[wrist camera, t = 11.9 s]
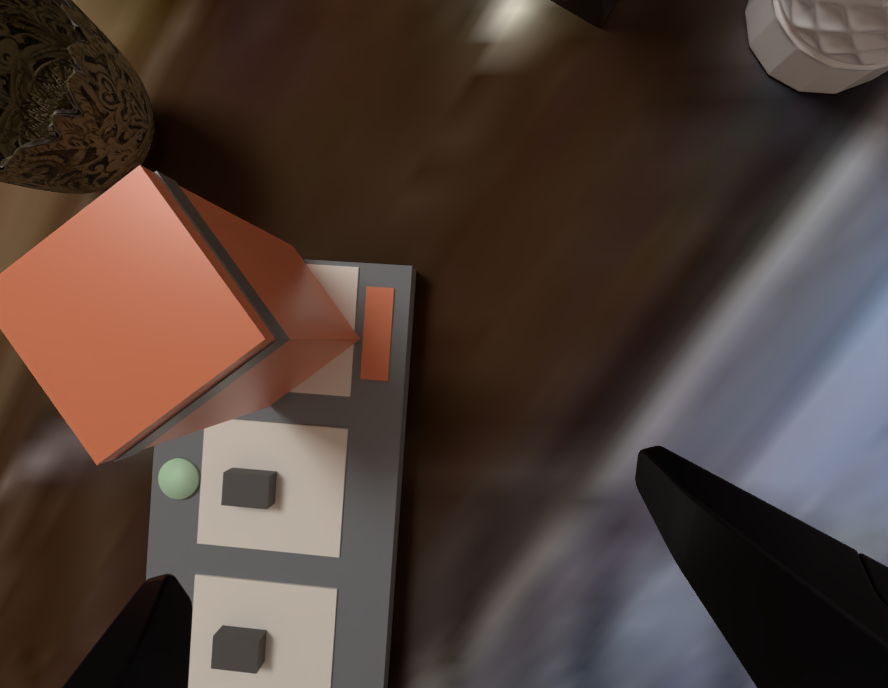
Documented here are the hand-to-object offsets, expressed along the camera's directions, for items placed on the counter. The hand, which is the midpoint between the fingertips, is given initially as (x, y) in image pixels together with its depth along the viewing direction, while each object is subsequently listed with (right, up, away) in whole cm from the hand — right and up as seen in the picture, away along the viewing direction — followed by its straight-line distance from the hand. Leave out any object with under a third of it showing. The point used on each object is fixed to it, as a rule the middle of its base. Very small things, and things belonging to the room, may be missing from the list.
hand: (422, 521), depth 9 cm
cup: (-14, +13, +14) cm, 24 cm away
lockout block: (-7, +4, +12) cm, 14 cm away
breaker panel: (-7, -3, +14) cm, 16 cm away
